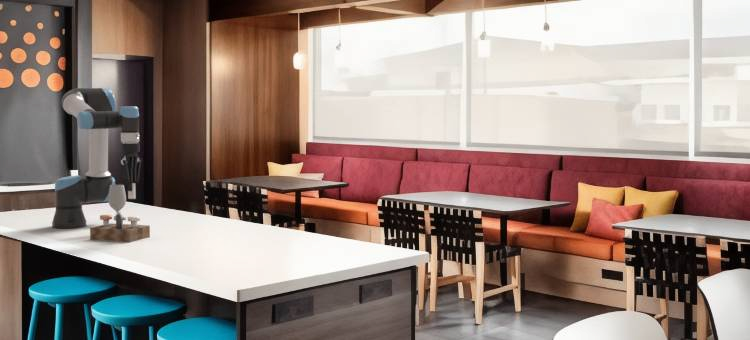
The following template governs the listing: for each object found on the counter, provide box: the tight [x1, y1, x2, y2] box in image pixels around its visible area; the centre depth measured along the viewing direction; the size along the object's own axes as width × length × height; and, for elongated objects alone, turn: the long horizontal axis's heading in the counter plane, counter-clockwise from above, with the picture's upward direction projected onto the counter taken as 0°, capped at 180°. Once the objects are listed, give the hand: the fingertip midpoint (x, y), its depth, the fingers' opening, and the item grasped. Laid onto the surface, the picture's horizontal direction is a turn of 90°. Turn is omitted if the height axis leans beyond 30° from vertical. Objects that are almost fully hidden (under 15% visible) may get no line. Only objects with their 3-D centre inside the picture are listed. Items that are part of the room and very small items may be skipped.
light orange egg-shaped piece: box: [99, 214, 113, 227], centre depth 368 cm, size 5×5×6 cm
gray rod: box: [115, 211, 122, 229], centre depth 359 cm, size 2×2×7 cm
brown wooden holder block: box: [89, 222, 151, 243], centre depth 366 cm, size 20×14×5 cm
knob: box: [127, 215, 141, 228], centre depth 364 cm, size 5×5×6 cm
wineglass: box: [107, 184, 127, 214], centre depth 384 cm, size 8×8×21 cm
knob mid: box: [113, 214, 127, 227], centre depth 366 cm, size 5×5×6 cm
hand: (132, 198), depth 362 cm, fingers closed
